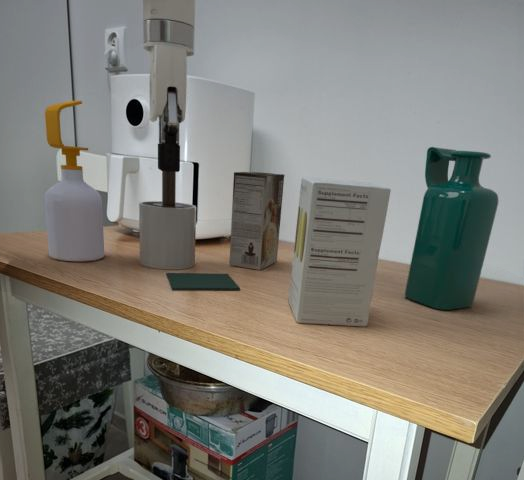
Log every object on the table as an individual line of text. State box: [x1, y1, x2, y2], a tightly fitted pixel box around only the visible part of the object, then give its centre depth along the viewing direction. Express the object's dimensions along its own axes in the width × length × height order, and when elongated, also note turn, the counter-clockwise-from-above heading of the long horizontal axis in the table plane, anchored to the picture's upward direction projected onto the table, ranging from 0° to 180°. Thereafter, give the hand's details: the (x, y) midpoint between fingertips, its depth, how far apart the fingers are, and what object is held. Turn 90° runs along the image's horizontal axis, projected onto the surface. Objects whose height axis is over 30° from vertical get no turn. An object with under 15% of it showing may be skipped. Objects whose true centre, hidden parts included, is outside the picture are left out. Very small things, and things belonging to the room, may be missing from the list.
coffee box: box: [228, 171, 285, 271], centre depth 88 cm, size 9×6×16 cm
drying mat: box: [166, 272, 241, 291], centre depth 75 cm, size 10×9×1 cm
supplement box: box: [288, 176, 392, 328], centre depth 62 cm, size 10×9×17 cm
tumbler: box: [138, 200, 197, 271], centre depth 84 cm, size 9×9×10 cm
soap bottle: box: [43, 100, 105, 263], centre depth 80 cm, size 9×9×25 cm
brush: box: [153, 171, 184, 208], centre depth 80 cm, size 5×5×15 cm
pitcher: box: [404, 146, 499, 311], centre depth 72 cm, size 10×8×22 cm
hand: (168, 169), depth 80 cm, fingers closed on brush
